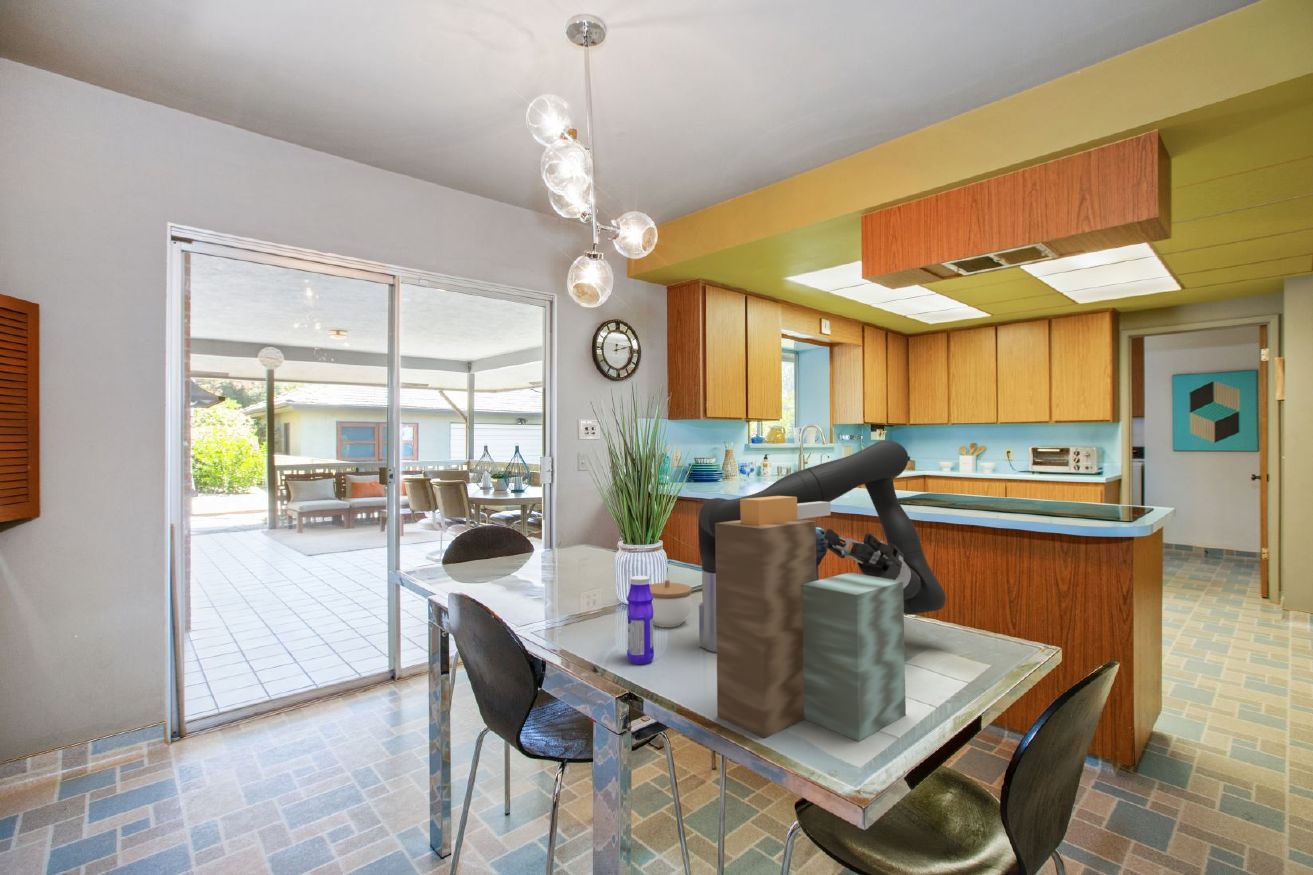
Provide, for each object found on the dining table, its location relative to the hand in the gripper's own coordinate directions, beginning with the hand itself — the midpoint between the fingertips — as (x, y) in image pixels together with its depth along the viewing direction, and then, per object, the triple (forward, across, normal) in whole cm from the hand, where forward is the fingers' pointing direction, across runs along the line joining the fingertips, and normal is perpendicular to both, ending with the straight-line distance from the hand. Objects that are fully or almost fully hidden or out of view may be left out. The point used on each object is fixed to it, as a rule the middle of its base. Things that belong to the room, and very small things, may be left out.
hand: (846, 535), depth 116 cm
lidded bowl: (-12, -51, +25) cm, 58 cm away
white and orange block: (+18, 0, +5) cm, 18 cm away
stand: (+3, +5, +33) cm, 34 cm away
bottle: (+7, -35, +36) cm, 50 cm away
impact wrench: (-36, -27, +11) cm, 47 cm away
